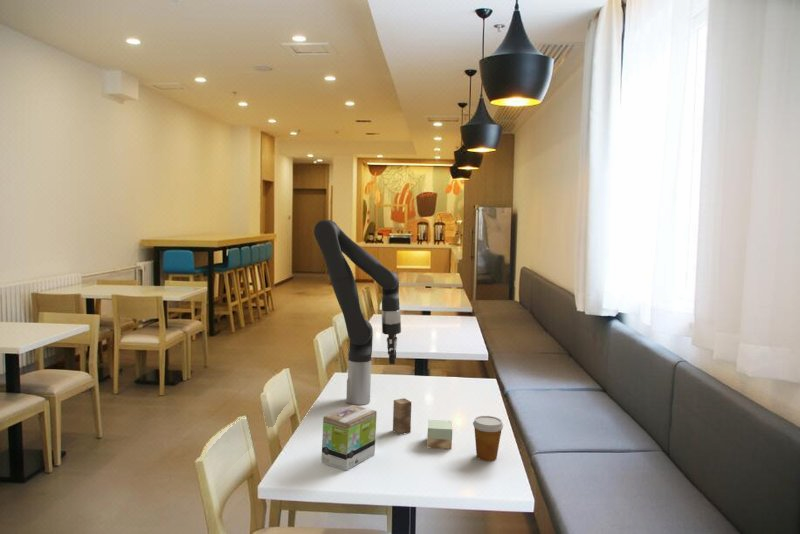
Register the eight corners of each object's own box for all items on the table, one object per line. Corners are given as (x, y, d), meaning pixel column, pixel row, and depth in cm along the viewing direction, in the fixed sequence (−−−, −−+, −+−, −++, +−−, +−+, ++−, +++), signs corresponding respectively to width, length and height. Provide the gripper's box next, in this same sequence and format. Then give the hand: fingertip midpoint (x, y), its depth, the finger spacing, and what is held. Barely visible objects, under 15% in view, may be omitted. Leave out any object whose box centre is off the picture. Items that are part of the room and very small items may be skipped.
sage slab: (427, 438, 189) (427, 428, 189) (427, 429, 197) (428, 419, 197) (452, 439, 188) (452, 429, 188) (451, 430, 196) (451, 420, 196)
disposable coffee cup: (505, 454, 185) (506, 418, 184) (497, 465, 177) (499, 428, 176) (476, 448, 189) (478, 413, 188) (467, 459, 181) (469, 422, 180)
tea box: (347, 472, 169) (348, 423, 168) (320, 463, 175) (321, 416, 173) (376, 455, 182) (377, 409, 181) (350, 447, 187) (351, 403, 186)
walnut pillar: (399, 434, 199) (400, 403, 198) (392, 430, 203) (393, 400, 202) (410, 432, 202) (411, 401, 201) (403, 428, 206) (404, 398, 205)
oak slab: (426, 448, 189) (427, 438, 189) (427, 439, 197) (427, 429, 197) (451, 450, 189) (451, 439, 188) (450, 440, 197) (451, 430, 196)
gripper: (383, 318, 237) (384, 357, 239) (380, 324, 223) (381, 366, 224) (401, 317, 237) (403, 356, 238) (399, 324, 223) (401, 365, 224)
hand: (392, 361), depth 231 cm, fingers open, 8 cm apart
